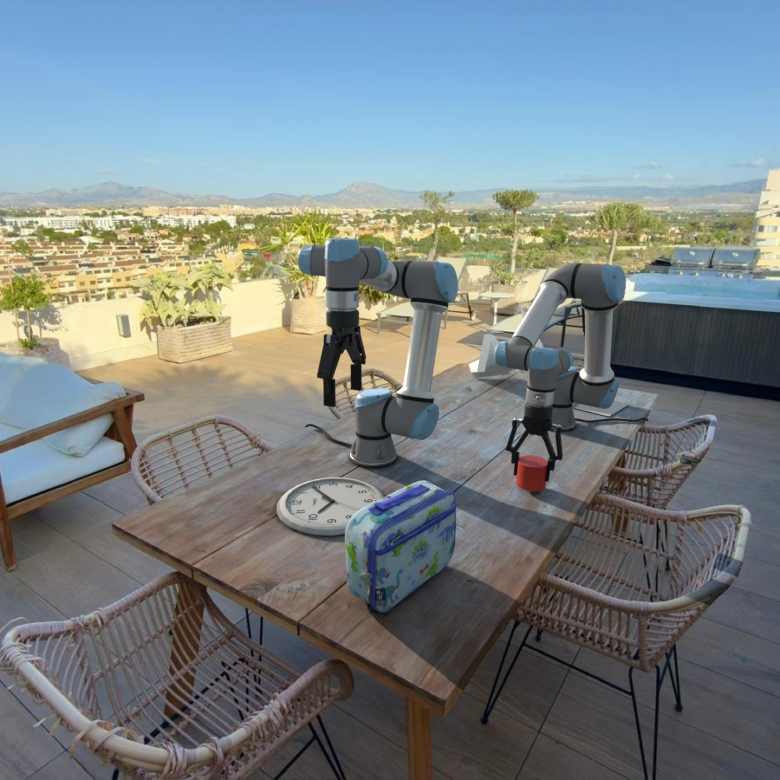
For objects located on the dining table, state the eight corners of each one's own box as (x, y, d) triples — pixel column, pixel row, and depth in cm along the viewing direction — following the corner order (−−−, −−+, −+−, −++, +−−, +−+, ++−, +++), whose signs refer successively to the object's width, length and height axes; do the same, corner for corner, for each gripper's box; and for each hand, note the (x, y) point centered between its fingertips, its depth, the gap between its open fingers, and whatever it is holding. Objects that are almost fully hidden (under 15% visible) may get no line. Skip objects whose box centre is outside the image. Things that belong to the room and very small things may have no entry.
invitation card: (608, 416, 214) (573, 407, 224) (608, 416, 214) (573, 408, 224) (628, 404, 229) (594, 396, 238) (628, 405, 229) (594, 397, 238)
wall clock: (392, 527, 129) (268, 531, 127) (391, 533, 130) (269, 537, 127) (383, 473, 158) (282, 475, 155) (383, 478, 158) (282, 480, 156)
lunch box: (374, 626, 100) (375, 530, 93) (338, 598, 107) (337, 508, 101) (459, 568, 117) (465, 484, 111) (424, 547, 124) (427, 467, 118)
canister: (530, 494, 148) (533, 470, 146) (509, 481, 155) (511, 458, 153) (551, 487, 152) (554, 463, 150) (530, 475, 159) (532, 452, 157)
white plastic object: (490, 419, 265) (470, 397, 240) (471, 347, 287) (451, 319, 262) (561, 395, 253) (548, 369, 228) (536, 321, 275) (521, 290, 250)
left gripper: (330, 318, 106) (332, 416, 113) (379, 303, 128) (378, 385, 135) (298, 315, 109) (302, 411, 115) (352, 301, 131) (352, 382, 137)
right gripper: (498, 401, 147) (492, 474, 154) (578, 413, 139) (567, 489, 146) (504, 394, 153) (498, 464, 160) (580, 404, 145) (570, 478, 152)
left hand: (343, 397), depth 125 cm, fingers open, 13 cm apart
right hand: (531, 476), depth 153 cm, fingers closed on canister, 8 cm apart
